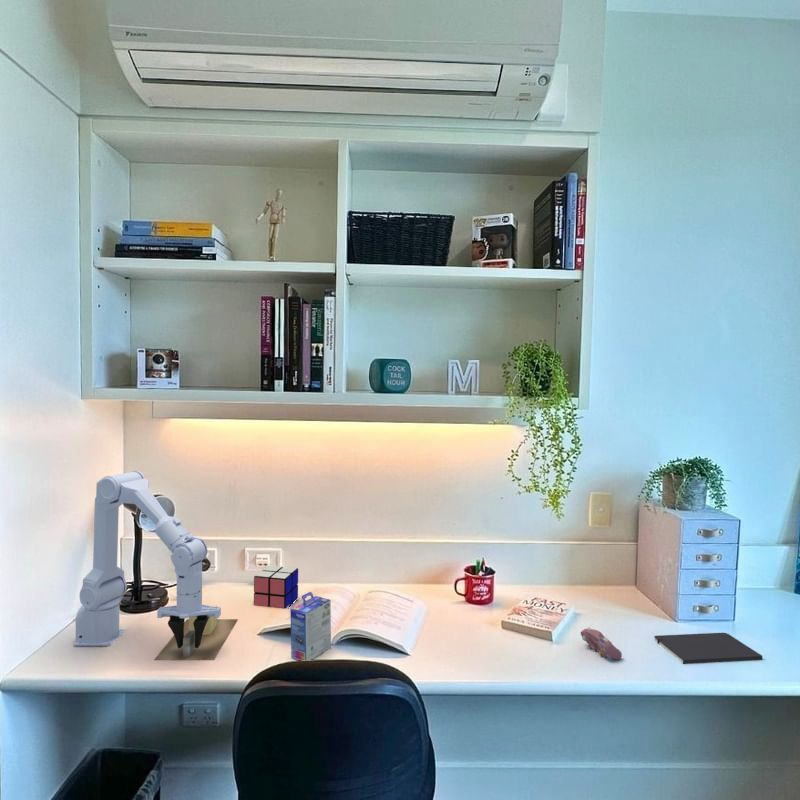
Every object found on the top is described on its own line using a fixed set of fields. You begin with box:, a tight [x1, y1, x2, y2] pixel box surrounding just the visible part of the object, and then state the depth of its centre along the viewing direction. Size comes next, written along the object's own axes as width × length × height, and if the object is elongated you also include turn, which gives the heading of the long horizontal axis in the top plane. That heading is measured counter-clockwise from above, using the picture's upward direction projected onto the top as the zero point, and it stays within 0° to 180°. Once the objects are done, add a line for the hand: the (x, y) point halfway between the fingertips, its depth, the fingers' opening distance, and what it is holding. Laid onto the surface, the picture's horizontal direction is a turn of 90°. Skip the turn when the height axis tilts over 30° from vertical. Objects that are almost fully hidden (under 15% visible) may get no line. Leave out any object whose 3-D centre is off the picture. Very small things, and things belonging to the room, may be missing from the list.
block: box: [188, 604, 218, 635], centre depth 144 cm, size 6×6×6 cm
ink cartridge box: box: [289, 591, 332, 661], centre depth 135 cm, size 10×6×14 cm, turn 149°
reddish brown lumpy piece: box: [580, 626, 623, 661], centre depth 138 cm, size 10×5×7 cm, turn 21°
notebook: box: [653, 632, 763, 665], centre depth 141 cm, size 13×2×21 cm
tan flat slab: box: [153, 618, 239, 661], centre depth 140 cm, size 14×22×6 cm, turn 2°
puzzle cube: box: [253, 565, 299, 610], centre depth 164 cm, size 10×10×10 cm
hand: (189, 646), depth 132 cm, fingers open, 3 cm apart
